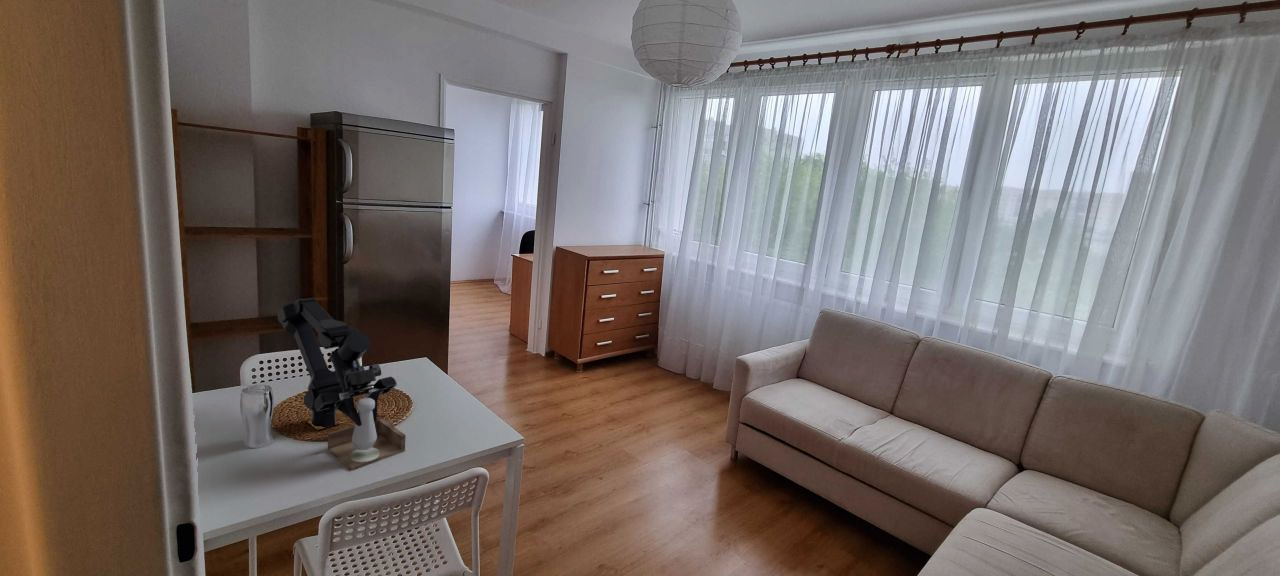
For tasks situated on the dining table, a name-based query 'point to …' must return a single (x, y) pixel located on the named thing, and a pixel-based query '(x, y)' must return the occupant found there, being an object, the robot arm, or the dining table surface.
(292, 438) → the dining table surface
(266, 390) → the beer glass
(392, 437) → the corner tray
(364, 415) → the salt shaker
